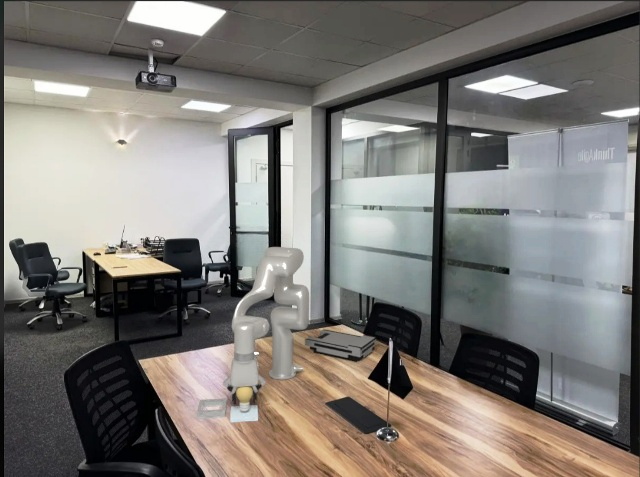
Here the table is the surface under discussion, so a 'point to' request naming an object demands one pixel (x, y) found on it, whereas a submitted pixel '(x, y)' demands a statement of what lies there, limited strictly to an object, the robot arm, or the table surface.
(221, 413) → the frame
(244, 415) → the pad
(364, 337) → the game console
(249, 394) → the light bulb
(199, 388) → the table surface
